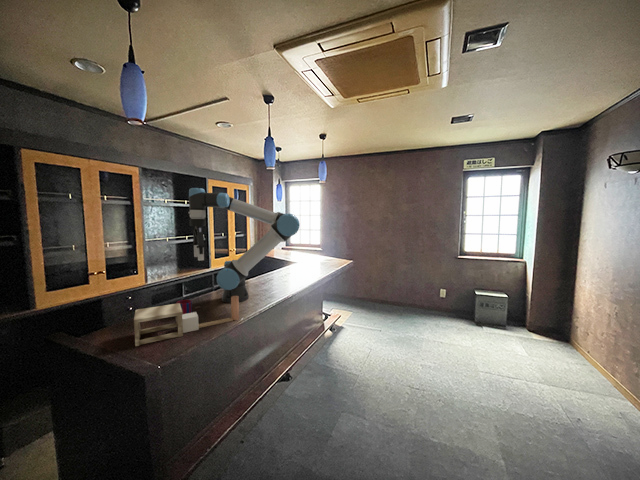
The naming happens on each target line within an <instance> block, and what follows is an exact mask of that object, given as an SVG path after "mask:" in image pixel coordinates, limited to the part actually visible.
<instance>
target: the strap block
mask: <svg viewBox="0 0 640 480" xmlns="http://www.w3.org/2000/svg"><path fill="white" fill-rule="evenodd" d="M239 305H240V302H239V296H232V297H231V303H230V311H231V315H230V316H231V317H226V318H222V319H218V320H217V319H216V320H213V321H212V320H211V321H208V322H207V321H206V322H202V323H199V314H198V313H197V311H192V313H187V314H183V315H182V325H183V334H186V333H188V332H194V331H199V330H200V328H205V327H210V326H214V325H219V324H223V323H229V322H233V320H236V321H238V319H239V320H240V307H239Z"/></svg>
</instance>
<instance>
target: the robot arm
mask: <svg viewBox="0 0 640 480" xmlns="http://www.w3.org/2000/svg"><path fill="white" fill-rule="evenodd" d="M188 203H189V204H188V207H189V211H188V212H187V213H188V214H189V226H191V227H193V234H192V235H193V236H192V237H193V238H192V240H193V242H192V244H193V257H194V258H197V261H199V262H200V261H205V246H206V245H205V240H204V239H205V238H204V228H203V227H206V225H207V224H206V223H207V222H206V221H207V220H206V218H207V217H206V215H207V213H206V208H220V209H224V210H227V211H228V212H229V211H230V212H233V213H235V214H239V215H240V216H241V215H242V216H245V217H247V218H251V219H253V220H256V221H259V222H261V223H264V224H267V225H270V229H269V231H268V232H267V233H265V234H264V235H263V236H261V238H260V239H259V240H258V241H256V242H255V243H254V244H253V245H252V246H251V247H250V248H249V249H248V250H247V251H245V252H244V253H243V254H242V255H241V256H240V257H239V258H238V259H232V260H225V261H224V265H223V266H224V267H223V268H222V269H220V270H219V271H218V272H217V275H216V283H217V285H218V286H219V287H220V288H221V289H223V292H222V294H221V295H222V296H221V301H222V302H224V303H230V304H231V297H232V296H239V303H241V302H244V301H247V300H249V296H250V295H249V291H248V289H247V286H246V278H248V276H249V271H250V270H252V269H253V268H254V267H255V266H256V265H257V264H258V263H259V262H260V261H261V260H263V259H264V258H265V257H266V256H267V255H268V254H269V253H270V252H271V251H273V250H274V249H275V248H276V247H277V246H278V245H280V243H282V242H283V243H286V242H288V241H287V240H289V239H290V238H291V237H292V236H294V235H296V234H297V233H298V232H299V230H300V220H299V219H298V217H297V216H296V215H295V214H292V213H282V212H280V211H277V212H275V211H271V210H269V209H265V208H262V207H260V206H257V205H254V204H252V203H248V202H246V201H243V200H239V199H236V198H234V197H231V196H229V193H227V192H206V190H205V189H204V188H201V187H200V188H199V187H191V188H189V190H188Z"/></svg>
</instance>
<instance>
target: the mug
mask: <svg viewBox="0 0 640 480" xmlns="http://www.w3.org/2000/svg"><path fill="white" fill-rule="evenodd" d="M177 303H180V305H181V309H182V312H183V314H187V313H193V311H192V310H193V309H192V307H193V306H192V305H193V304H192V300H191V299H181V300H177V301H176V303H175V304H177Z"/></svg>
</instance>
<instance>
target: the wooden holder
mask: <svg viewBox="0 0 640 480" xmlns="http://www.w3.org/2000/svg"><path fill="white" fill-rule="evenodd" d="M134 311H135V313H134V317H133V327H134V345H135V347H139V346H141V345H146V344H151V343H156V342H159V341H163V340H165V341H166V340H168V339H174V338H180V337H183V336H184V333H183V325H182V315H183V312H182V309H181V305H180V303H177V304H176V303H172V304H165V305H159V306H152V307H151V306H150V307H146V308H138V309H135V310H134ZM172 317H175V322H174V323H168V324H162V325H158V326H153V327H148V328H147V327H146V328H143V329H141V323H143V322H149V321H155V320H161V319H165V318H172ZM174 328H177V331H175V332H170V333H167V334H166V333H165V334H160V335H156V336H152V337H145V338H142V339H141V335H145V334H149V333H153V332H159V331H163V330H169V329H174Z"/></svg>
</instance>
